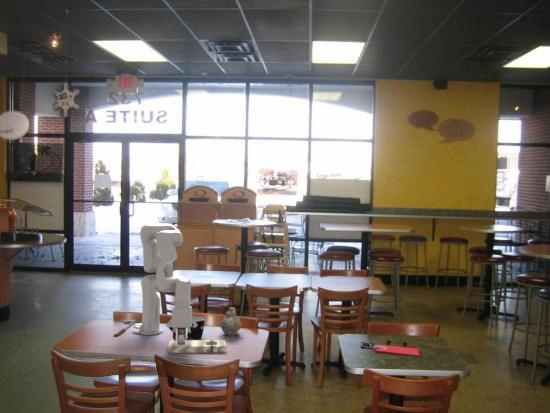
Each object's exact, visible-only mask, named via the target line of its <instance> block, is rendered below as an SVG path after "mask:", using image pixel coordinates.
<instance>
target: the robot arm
mask: <svg viewBox="0 0 550 413" xmlns="http://www.w3.org/2000/svg"><path fill="white" fill-rule="evenodd" d="M139 233H140V234H139V236H140V241H141V244H142V254H143V256H142V258H143V269H144V272H146V273H156V274H150V275H145V276H143V278H141V281H140V285H141V286H140V287H141V294H142V297H141V298H142V299H141V300H142V303H141V304H142V307H141V308H142V309H141V310H142V312H141V315H142V316H141V321H142V322H141V323H139V324H137V323H135V324H133V329H135V330H137V329H138V333H139V334H141V335H145V336H153V335H154V336H155V335H159V334H162V333H163V328H161V327H160V323H161V322H160V320H161V317H160V316H161V299H160V297H159V295H158V294H157V293H158V292H159V293H160V292H162V293H173V292H174V301H171V305H173V307H172V312H171V319H170V320H169V321H168V322H167V323H166V325H165V326H166V327H167V328H168V330H170V331H171V332H172V340H174V341H175V340H177V331H176V330H177V329H178V328H186V330H187V332H186V334H187V336H186V337H187V338H186V340H188V341H189V340H190V339H191V338H190V332H191V331H192V330H193V329H194V328H195V327H197V323H196V322H195V321H194V320H193V319H192V317H193V309H192V306H191V289H192V287H191V286H192V285H191V284H192V283H191V280H190V279H188V278H186V277H184V276H183V275H178V276H176V275H175V276H174V266H173V265H174V264H173V262H175V261H176V260H178V253H177V251H176V247H180V246H181V245H182V244H183V242H184V236H183V233H182V232H181V231H180V229H179V228H178V227H176V226H174V225H173V224H171V223H149V224H145V225H143V226H142V227H141V229H140V232H139ZM192 323H193V324H194V325H193V326H192ZM191 326H192V327H191ZM190 327H191V328H190Z"/></svg>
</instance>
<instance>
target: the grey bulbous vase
mask: <svg viewBox="0 0 550 413" xmlns="http://www.w3.org/2000/svg"><path fill="white" fill-rule="evenodd" d="M225 314H226V316H224V317H223V318H222V319H221V322H220V329H221V330H222V332H223V334H224V335H225V336H230V337H231V336H233V337H234V336H235V334H237V333H238V332H239V331H240V330H241V328H242V324H241V323H242V322H241V319H240V318H239V317H237V309H236V308H235V307H233V306H232V307H229V309H228V311H226V313H225Z"/></svg>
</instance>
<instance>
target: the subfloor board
mask: <svg viewBox="0 0 550 413" xmlns="http://www.w3.org/2000/svg"><path fill="white" fill-rule="evenodd" d="M226 343H227V342H226V340H225V339H222V340H221V339H209V340H207V339H204V340H203V339H202V340H201V339H189V341H188V340H187V339H186V341H185V344H183V345H179V344H177V339H176V340H175V341H174V339H172V340H169V343H168V351H167V352H168V353H169V354H171V353H172V354H173V353H175V354H176V353H177V354H178V353H181V354H182V353H183V354H185V353H188V354H189V353H196V354H197V353H226V352H227V345H226Z"/></svg>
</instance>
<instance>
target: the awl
mask: <svg viewBox="0 0 550 413" xmlns="http://www.w3.org/2000/svg"><path fill="white" fill-rule="evenodd" d="M186 331H187V328H177V336H176V340H177V344H179V345H183V344H185V341H186V340H187V338H186V337H187V336H186V334H187V332H186Z"/></svg>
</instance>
